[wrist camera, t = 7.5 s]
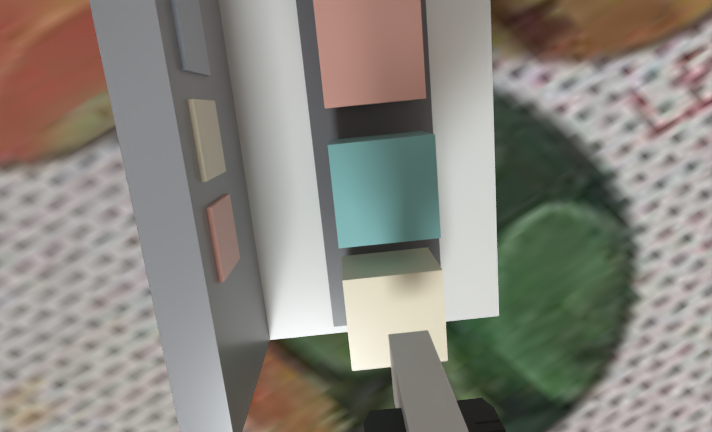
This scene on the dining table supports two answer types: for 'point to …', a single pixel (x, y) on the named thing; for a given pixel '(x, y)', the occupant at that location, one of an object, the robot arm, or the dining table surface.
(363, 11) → the coral key
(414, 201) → the teal key
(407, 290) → the sand key
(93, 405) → the dining table surface
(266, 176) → the keypad
